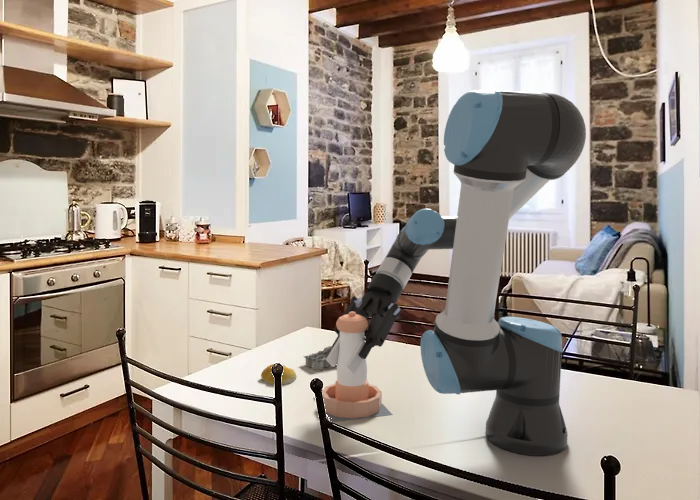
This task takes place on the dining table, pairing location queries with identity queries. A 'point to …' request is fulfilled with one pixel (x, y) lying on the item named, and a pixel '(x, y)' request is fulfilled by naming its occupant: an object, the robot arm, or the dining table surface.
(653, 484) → the dining table surface
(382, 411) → the mat
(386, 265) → the robot arm
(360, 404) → the dish
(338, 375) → the pepper shaker
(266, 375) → the bread roll
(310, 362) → the egg carton
